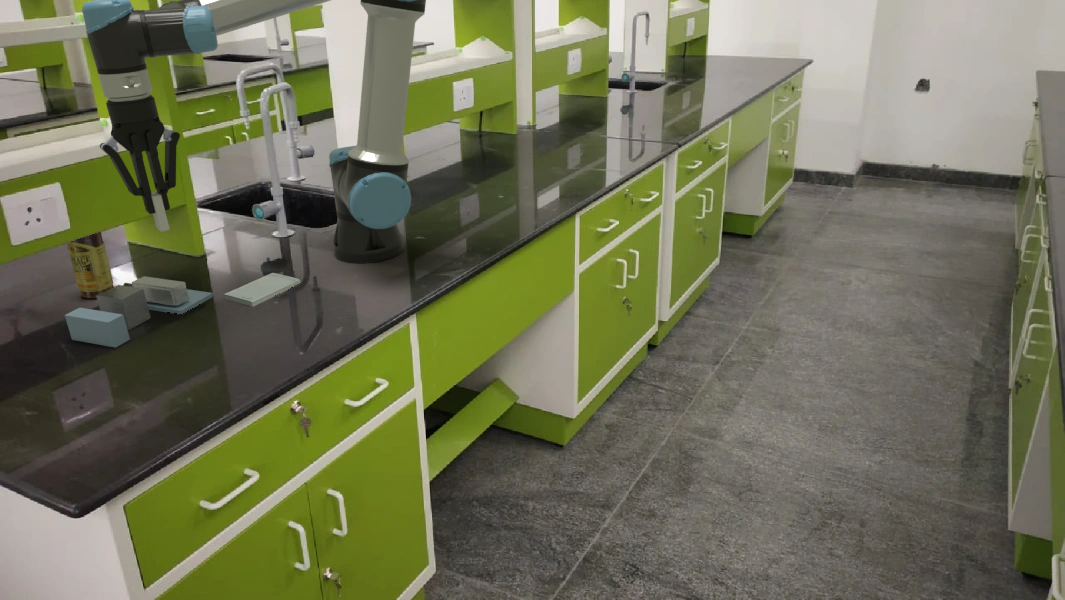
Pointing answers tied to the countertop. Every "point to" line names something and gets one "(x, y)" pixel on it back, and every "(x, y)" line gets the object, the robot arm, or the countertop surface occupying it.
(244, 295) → the hard drive
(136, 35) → the robot arm
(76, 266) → the sauce bottle
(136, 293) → the steel block
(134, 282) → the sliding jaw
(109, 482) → the countertop surface
